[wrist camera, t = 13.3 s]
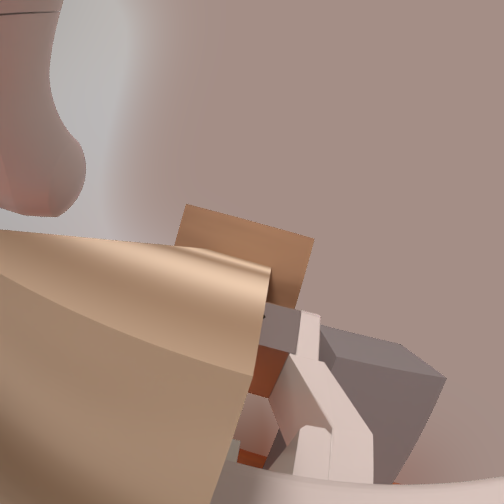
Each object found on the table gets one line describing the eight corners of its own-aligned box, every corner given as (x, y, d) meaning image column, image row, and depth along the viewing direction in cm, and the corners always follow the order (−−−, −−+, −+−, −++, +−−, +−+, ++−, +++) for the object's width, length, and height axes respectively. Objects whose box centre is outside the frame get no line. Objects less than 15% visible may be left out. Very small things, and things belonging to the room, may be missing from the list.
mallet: (331, 615, 1) (550, 143, 1) (-109, 382, 2) (-67, 60, 2) (284, 311, 22) (303, 243, 22) (189, 283, 23) (208, 216, 23)
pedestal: (241, 557, 22) (336, 356, 21) (248, 499, 33) (316, 323, 32) (327, 566, 21) (446, 377, 21) (319, 510, 32) (400, 344, 32)
